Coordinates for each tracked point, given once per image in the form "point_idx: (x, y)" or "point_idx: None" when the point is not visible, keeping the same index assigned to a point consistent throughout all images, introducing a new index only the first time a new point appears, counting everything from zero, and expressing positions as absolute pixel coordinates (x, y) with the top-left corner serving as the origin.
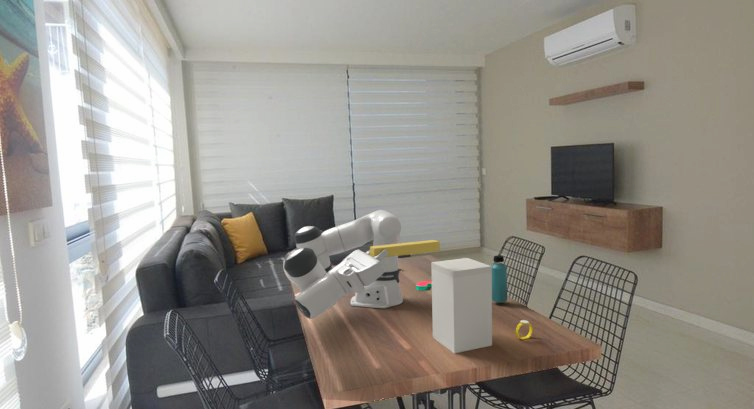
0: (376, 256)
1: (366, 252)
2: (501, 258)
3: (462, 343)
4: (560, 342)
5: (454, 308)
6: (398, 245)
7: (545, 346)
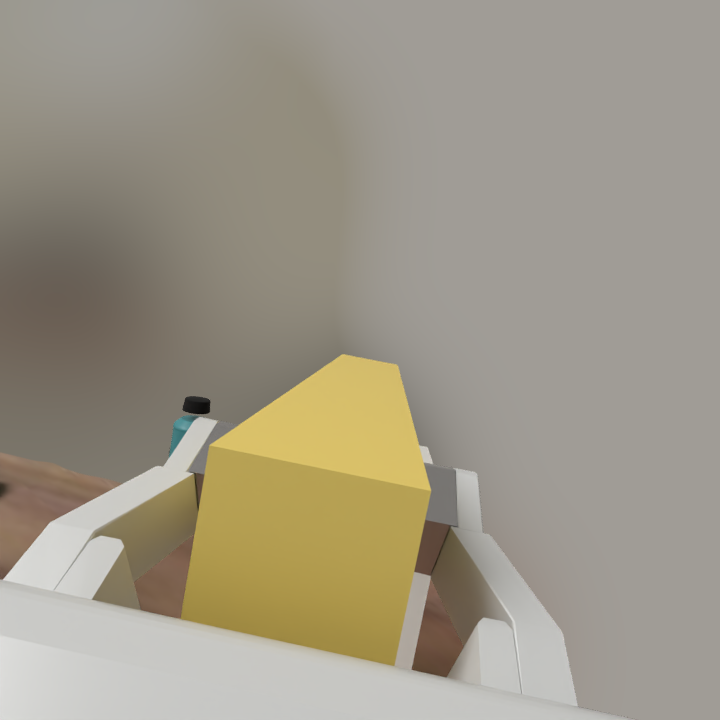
0: (530, 639)
1: (37, 559)
2: (209, 404)
3: None
4: (429, 590)
5: (413, 659)
6: (388, 397)
7: (437, 618)
